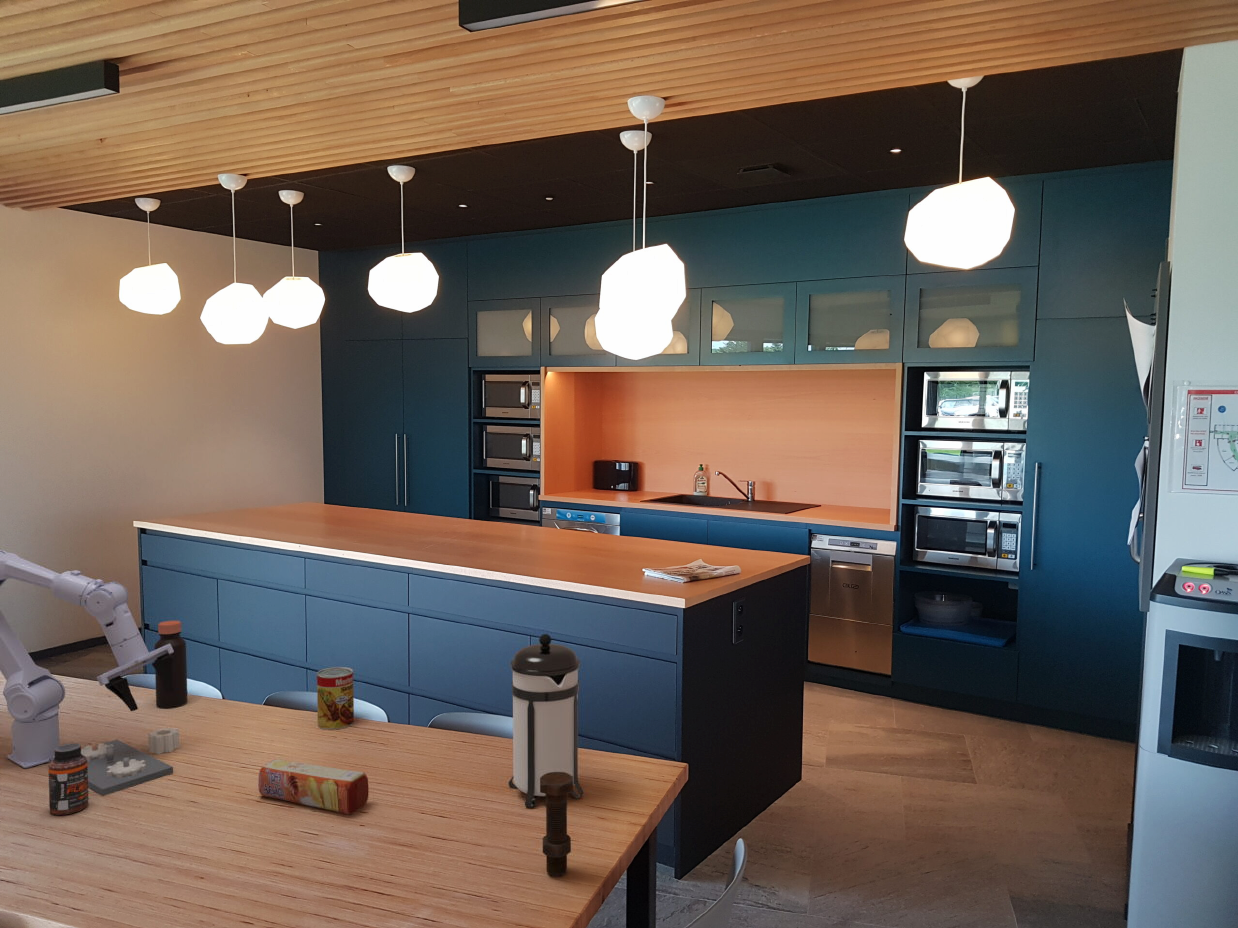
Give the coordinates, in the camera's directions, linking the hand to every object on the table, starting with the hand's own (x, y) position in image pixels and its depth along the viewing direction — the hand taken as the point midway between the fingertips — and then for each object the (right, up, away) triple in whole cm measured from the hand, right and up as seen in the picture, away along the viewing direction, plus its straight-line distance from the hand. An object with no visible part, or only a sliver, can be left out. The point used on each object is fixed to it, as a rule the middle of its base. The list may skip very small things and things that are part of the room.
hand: (153, 700), depth 181 cm
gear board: (-6, -12, -5) cm, 14 cm away
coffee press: (+81, -13, -14) cm, 83 cm away
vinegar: (-13, -10, +34) cm, 38 cm away
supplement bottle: (-3, -14, -23) cm, 26 cm away
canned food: (+31, -11, +21) cm, 39 cm away
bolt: (+86, -15, -44) cm, 98 cm away
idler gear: (-1, -12, +5) cm, 13 cm away
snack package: (+39, -14, -19) cm, 46 cm away
